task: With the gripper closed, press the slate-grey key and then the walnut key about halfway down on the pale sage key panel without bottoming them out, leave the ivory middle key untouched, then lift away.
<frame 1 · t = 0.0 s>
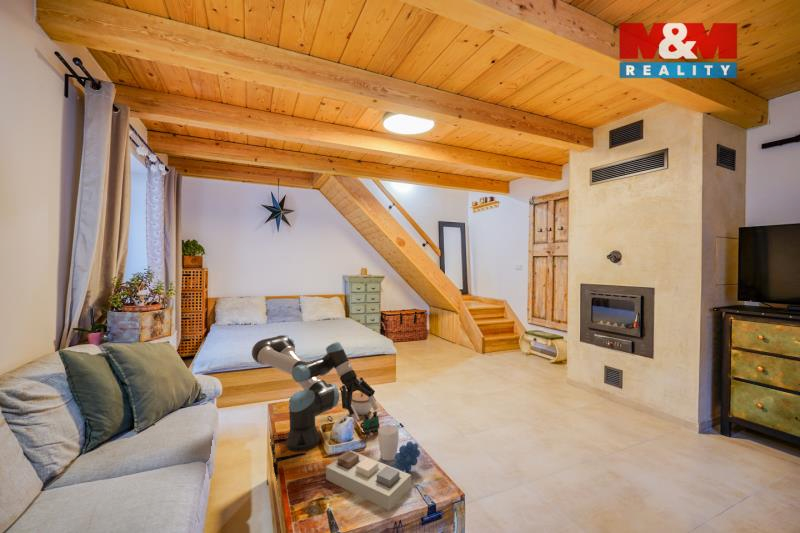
hand: (367, 415, 158), 15 cm above the table, tool tilted 35°, fingers open, 13 cm apart
grapes: (406, 470, 140), on the table
lidded bowl: (362, 412, 195), on the table
cup: (388, 457, 151), on the table
key panel: (367, 483, 133), on the table
walnut key: (348, 461, 138), point 6 cm above the table, slide at 0.0 cm
ivory key: (367, 469, 133), point 6 cm above the table, slide at 0.0 cm
slate key: (388, 478, 127), point 6 cm above the table, slide at 0.0 cm
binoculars: (369, 432, 172), on the table
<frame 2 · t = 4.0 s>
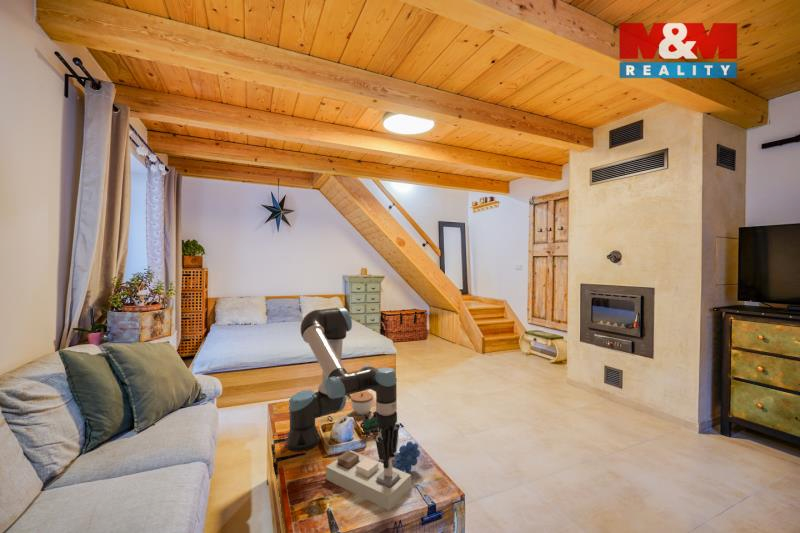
hand: (388, 474, 127), 7 cm above the table, tool pointing down, fingers closed
slate key: (388, 480, 127), point 5 cm above the table, slide at 0.9 cm, touching gripper
everything else where it was.
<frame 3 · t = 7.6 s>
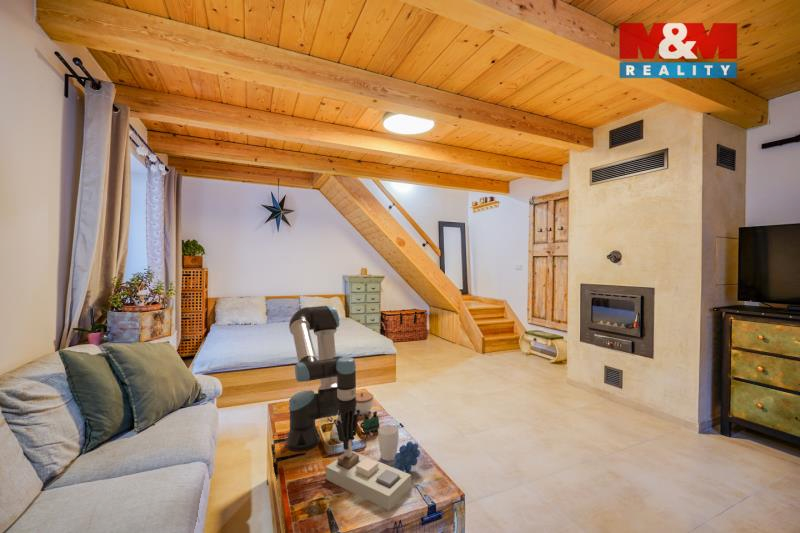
hand: (348, 455, 138), 8 cm above the table, tool pointing down, fingers closed
walnut key: (348, 461, 138), point 6 cm above the table, slide at 0.0 cm, touching gripper
slate key: (388, 481, 127), point 4 cm above the table, slide at 1.2 cm
everything else where it was.
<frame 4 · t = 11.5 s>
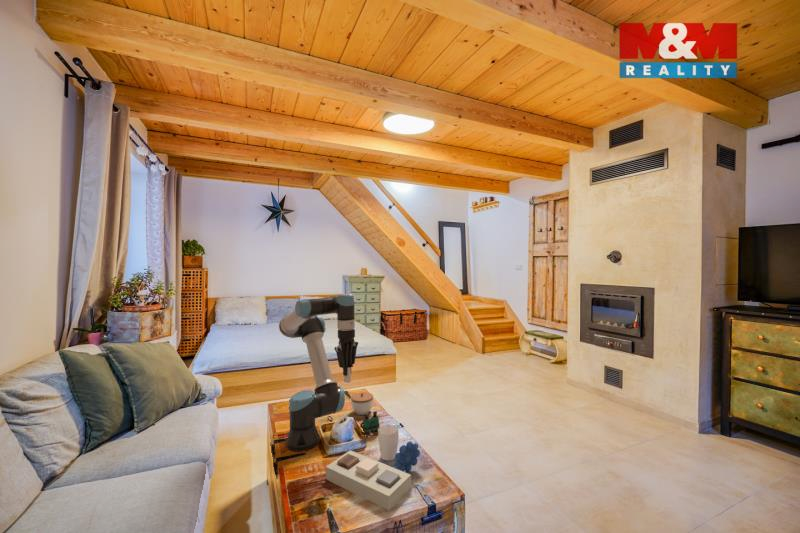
hand: (347, 381, 153), 32 cm above the table, tool pointing down, fingers closed
walnut key: (348, 464, 138), point 4 cm above the table, slide at 1.3 cm
everything else where it was.
at the end: slate key slide at 1.2 cm; walnut key slide at 1.3 cm; ivory key slide at 0.0 cm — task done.
